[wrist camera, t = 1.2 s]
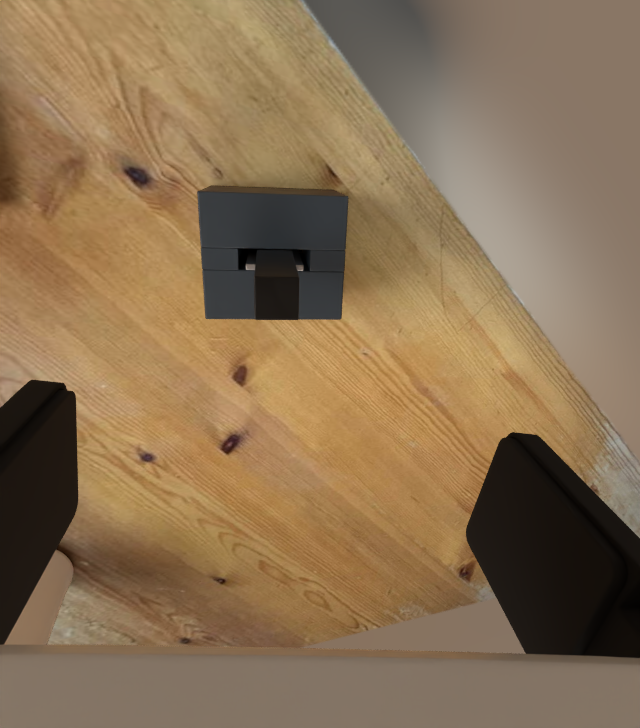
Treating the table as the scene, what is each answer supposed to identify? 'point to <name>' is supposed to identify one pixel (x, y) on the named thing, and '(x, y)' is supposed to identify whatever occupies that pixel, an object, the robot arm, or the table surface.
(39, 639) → the drinking glass
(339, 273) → the knife block
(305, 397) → the table surface
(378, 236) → the table surface
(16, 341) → the table surface
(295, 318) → the knife
